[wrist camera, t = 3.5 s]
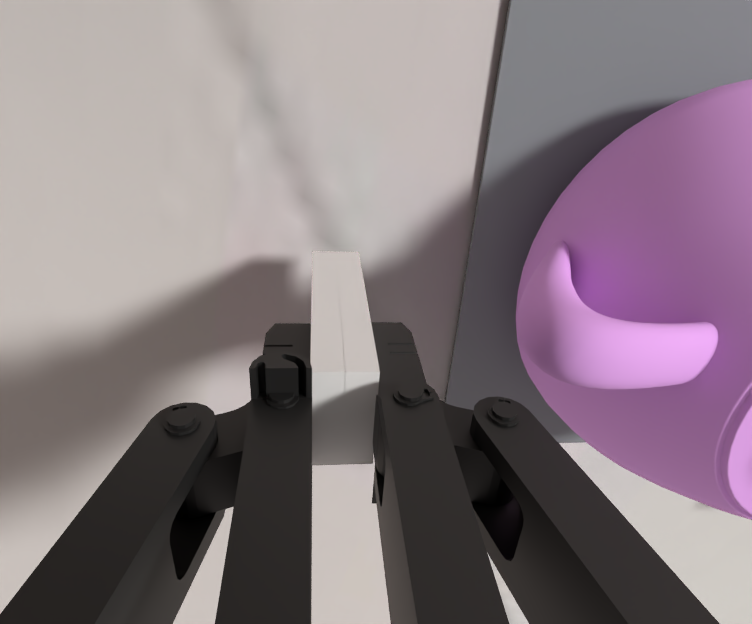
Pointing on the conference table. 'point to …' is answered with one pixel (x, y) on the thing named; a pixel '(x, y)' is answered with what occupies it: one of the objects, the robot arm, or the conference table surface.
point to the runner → (570, 147)
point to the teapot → (654, 300)
